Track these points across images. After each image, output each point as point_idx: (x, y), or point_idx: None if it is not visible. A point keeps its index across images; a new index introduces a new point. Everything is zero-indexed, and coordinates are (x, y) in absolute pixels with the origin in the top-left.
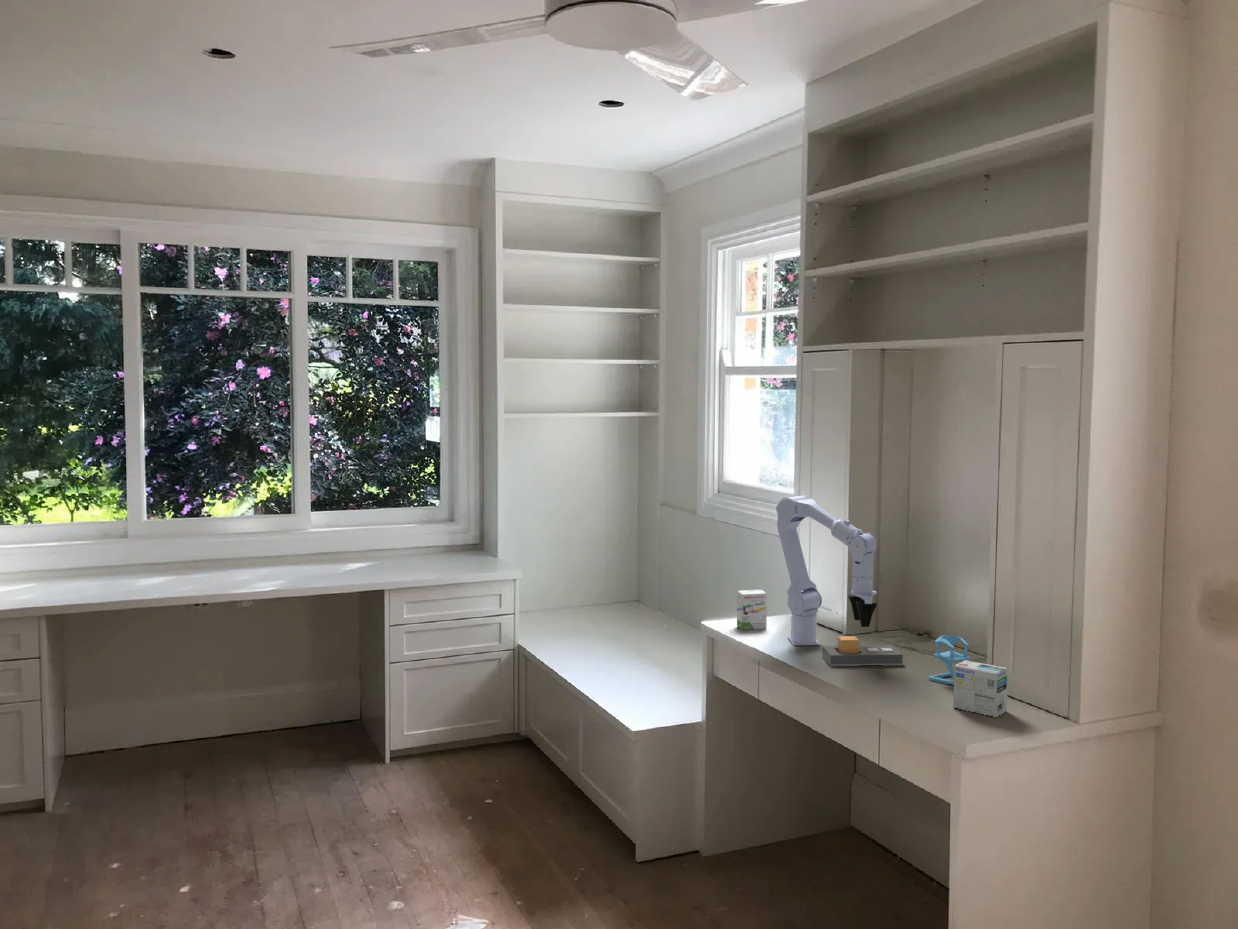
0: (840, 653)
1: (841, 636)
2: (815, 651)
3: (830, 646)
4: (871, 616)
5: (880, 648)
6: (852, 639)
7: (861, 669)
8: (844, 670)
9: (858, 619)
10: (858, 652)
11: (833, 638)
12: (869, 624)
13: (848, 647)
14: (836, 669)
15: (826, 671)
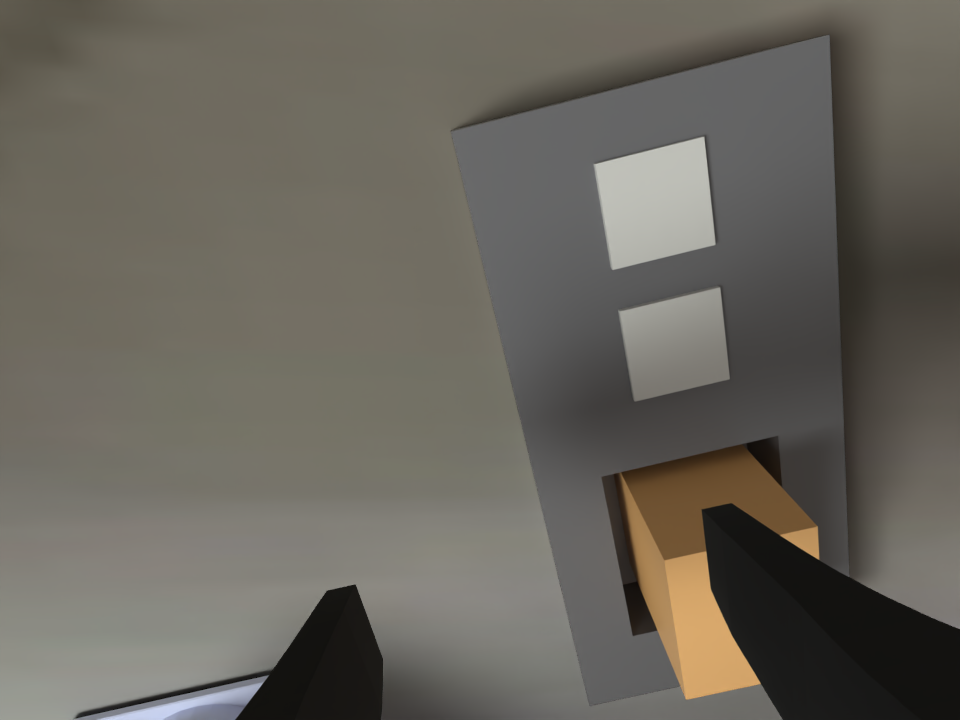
0: None
1: (686, 674)
2: (448, 684)
3: (592, 659)
4: (865, 586)
5: (613, 268)
6: None
7: (885, 398)
8: (906, 506)
9: (368, 633)
10: (755, 462)
11: (23, 596)
12: (752, 518)
13: None
14: (880, 553)
15: (923, 605)
